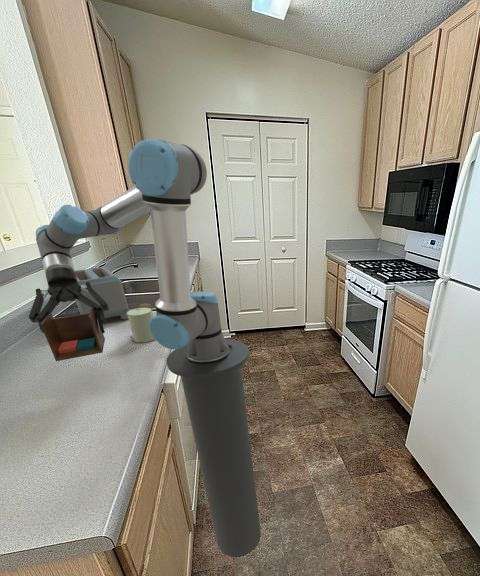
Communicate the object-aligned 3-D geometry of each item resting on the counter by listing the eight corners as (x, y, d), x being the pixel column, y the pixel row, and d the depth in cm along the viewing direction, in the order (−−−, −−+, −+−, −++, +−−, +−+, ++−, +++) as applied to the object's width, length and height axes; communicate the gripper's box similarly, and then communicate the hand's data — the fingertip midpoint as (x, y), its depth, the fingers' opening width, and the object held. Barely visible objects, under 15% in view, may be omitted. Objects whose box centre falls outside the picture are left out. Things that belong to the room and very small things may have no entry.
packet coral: (79, 343, 100) (78, 339, 100) (77, 350, 96) (75, 346, 95) (63, 345, 99) (61, 342, 98) (59, 353, 94) (57, 350, 94)
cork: (145, 332, 142) (139, 307, 137) (140, 328, 146) (134, 304, 141) (159, 328, 146) (154, 304, 141) (154, 324, 150) (148, 301, 145)
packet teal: (97, 340, 102) (95, 337, 101) (94, 348, 97) (93, 344, 96) (80, 343, 100) (79, 340, 100) (77, 351, 95) (76, 347, 95)
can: (154, 331, 142) (148, 304, 136) (160, 338, 135) (154, 310, 130) (131, 337, 137) (123, 309, 132) (136, 344, 131) (128, 315, 125)
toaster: (116, 302, 181) (105, 264, 171) (132, 319, 157) (120, 275, 148) (77, 310, 171) (63, 270, 161) (87, 328, 147) (72, 283, 138)
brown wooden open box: (105, 339, 105) (93, 305, 100) (102, 352, 96) (90, 316, 91) (62, 346, 101) (48, 312, 95) (56, 361, 92) (40, 324, 87)
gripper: (107, 274, 109) (125, 332, 104) (15, 286, 98) (30, 351, 93) (103, 260, 102) (122, 321, 97) (4, 271, 91) (19, 340, 87)
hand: (77, 336), depth 95 cm, fingers closed on brown wooden open box, 12 cm apart
